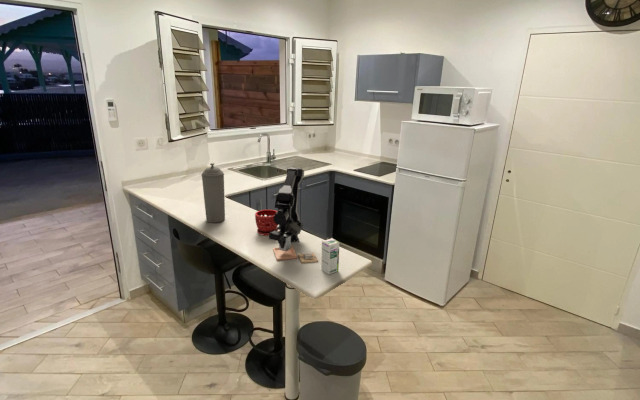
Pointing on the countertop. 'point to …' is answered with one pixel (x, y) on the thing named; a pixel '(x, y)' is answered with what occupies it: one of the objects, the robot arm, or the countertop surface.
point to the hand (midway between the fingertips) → (284, 246)
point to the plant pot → (265, 222)
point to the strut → (286, 243)
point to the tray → (284, 254)
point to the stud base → (307, 257)
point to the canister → (214, 194)
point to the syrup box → (330, 256)
